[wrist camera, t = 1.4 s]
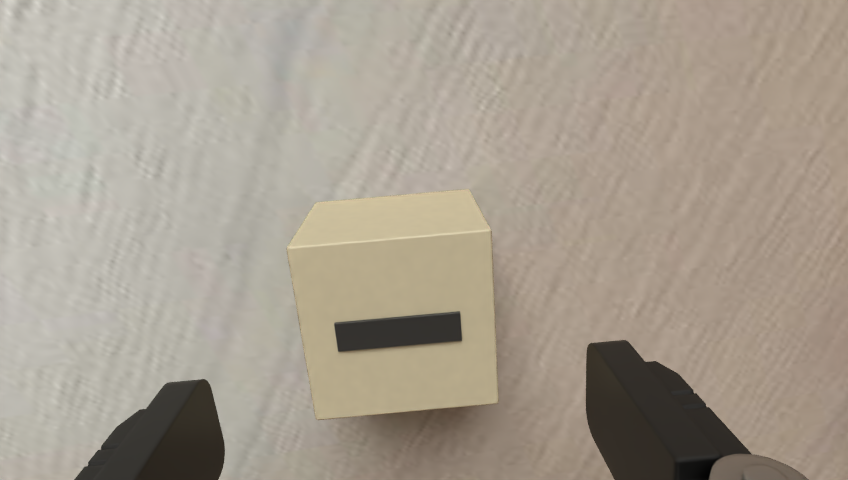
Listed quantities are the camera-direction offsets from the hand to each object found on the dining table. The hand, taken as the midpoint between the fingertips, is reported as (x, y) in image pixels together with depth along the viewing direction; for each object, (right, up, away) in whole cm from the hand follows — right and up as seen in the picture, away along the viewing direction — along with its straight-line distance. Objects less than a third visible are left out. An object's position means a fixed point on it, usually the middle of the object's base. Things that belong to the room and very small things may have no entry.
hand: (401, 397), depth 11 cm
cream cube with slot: (0, +2, +7) cm, 7 cm away
